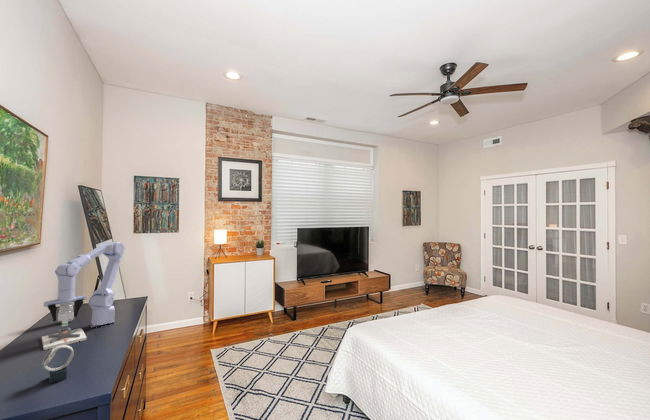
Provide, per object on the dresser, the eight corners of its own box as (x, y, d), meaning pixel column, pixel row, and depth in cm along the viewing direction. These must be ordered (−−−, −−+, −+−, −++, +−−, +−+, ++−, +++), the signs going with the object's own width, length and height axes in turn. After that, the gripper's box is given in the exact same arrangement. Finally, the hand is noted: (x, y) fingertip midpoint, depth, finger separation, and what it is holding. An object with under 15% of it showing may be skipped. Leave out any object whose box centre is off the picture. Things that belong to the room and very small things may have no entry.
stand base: (81, 330, 139) (81, 321, 140) (86, 339, 129) (87, 330, 129) (41, 339, 129) (42, 329, 129) (43, 350, 118) (44, 339, 118)
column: (70, 323, 132) (71, 310, 132) (71, 325, 129) (72, 312, 130) (57, 325, 129) (58, 312, 129) (58, 328, 126) (59, 314, 126)
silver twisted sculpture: (77, 320, 153) (78, 284, 153) (62, 325, 146) (63, 286, 147) (69, 319, 155) (71, 283, 156) (54, 323, 148) (56, 285, 149)
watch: (41, 379, 97) (43, 347, 97) (72, 370, 102) (73, 340, 103) (40, 386, 93) (42, 353, 93) (73, 377, 98) (74, 345, 99)
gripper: (83, 285, 138) (82, 312, 137) (42, 291, 126) (41, 321, 126) (88, 287, 134) (87, 315, 133) (46, 293, 122) (44, 324, 122)
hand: (65, 318), depth 129 cm, fingers open, 7 cm apart
